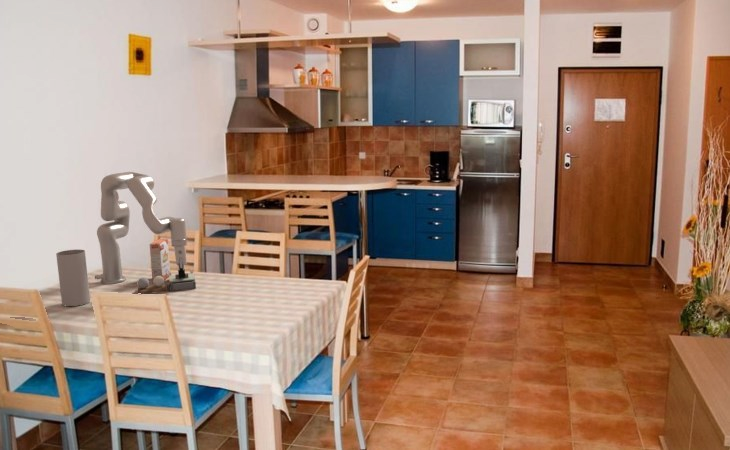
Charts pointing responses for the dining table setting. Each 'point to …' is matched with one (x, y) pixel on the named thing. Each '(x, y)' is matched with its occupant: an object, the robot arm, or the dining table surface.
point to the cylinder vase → (73, 277)
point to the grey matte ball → (143, 283)
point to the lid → (176, 278)
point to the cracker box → (160, 258)
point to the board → (152, 289)
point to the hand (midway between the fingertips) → (182, 277)
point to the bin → (182, 284)
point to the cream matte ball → (158, 281)
